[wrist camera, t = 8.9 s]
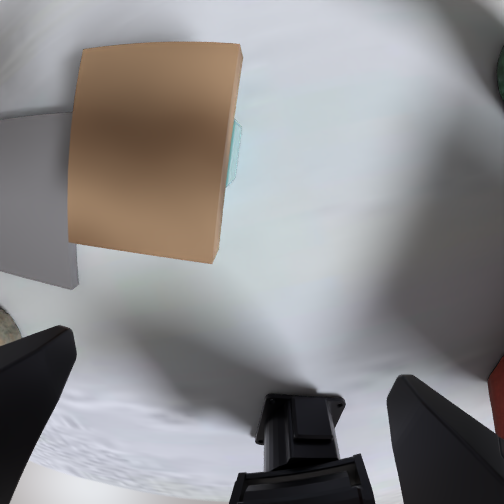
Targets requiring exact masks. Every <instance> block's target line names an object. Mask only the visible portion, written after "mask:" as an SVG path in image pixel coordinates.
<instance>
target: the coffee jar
mask: <svg viewBox="0 0 504 504" xmlns="http://www.w3.org/2000/svg"><path fill="white" fill-rule="evenodd" d="M497 80H498V85H499V91H500V94H501V97H502V99H503V101H504V46H503V49H502V51H501V54H500V57H499V60H498V68H497Z"/></svg>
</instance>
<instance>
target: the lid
mask: <svg viewBox="0 0 504 504" xmlns="http://www.w3.org/2000/svg"><path fill="white" fill-rule="evenodd" d="M242 61H243V55H242V51H241V47H240V44H233V43H217V42H150V43H134V44H122V45H112V46H103V47H96V48H89V49H83V53H82V58H81V63H80V68H79V74H78V79H77V85H76V92H75V99H74V106H73V114H72V123H71V133H70V146H69V161H68V195H67V208H68V241H69V243H75V244H82V245H88V246H94V247H101V248H107V249H114V250H120V251H127V252H133V253H140V254H146V255H153V256H160V257H167V258H173V259H180V260H187V261H194V262H201V263H208V264H212V263H213V261H214V259H215V256H216V254H217V252H218V250H219V241H220V232H221V223H222V213H223V205H224V196H225V187H226V179H227V171H228V162H229V154H230V147H231V139H232V131H233V124H234V116H235V109H236V102H237V95H238V88H239V81H240V74H241V68H242Z"/></svg>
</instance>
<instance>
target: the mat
mask: <svg viewBox="0 0 504 504" xmlns="http://www.w3.org/2000/svg"><path fill="white" fill-rule="evenodd" d="M72 114H73V112H65V113H52V114H41V115H32V116H23V117H15V118H8V119H1V120H0V271H2V272H6V273H9V274H13V275H16V276H20V277H23V278H27V279H31V280H35V281H39V282H42V283H46V284H50V285H54V286H58V287H62V288H67V289H71V290H72V289H74V288H75V287H76V286H77V285H78V284H79V282H78V270H77V256H76V244H75V243H69V241H68V208H67V195H68V161H69V146H70V133H71V123H72Z"/></svg>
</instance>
